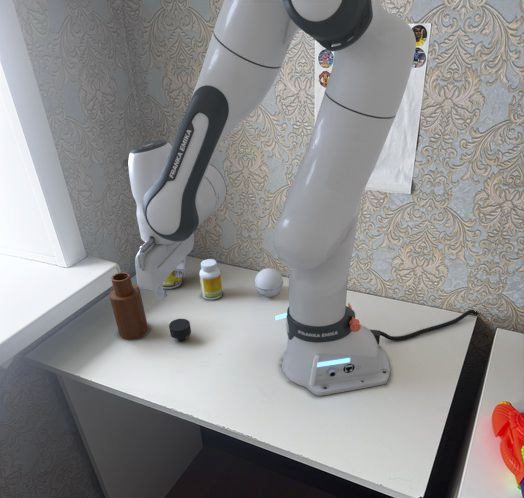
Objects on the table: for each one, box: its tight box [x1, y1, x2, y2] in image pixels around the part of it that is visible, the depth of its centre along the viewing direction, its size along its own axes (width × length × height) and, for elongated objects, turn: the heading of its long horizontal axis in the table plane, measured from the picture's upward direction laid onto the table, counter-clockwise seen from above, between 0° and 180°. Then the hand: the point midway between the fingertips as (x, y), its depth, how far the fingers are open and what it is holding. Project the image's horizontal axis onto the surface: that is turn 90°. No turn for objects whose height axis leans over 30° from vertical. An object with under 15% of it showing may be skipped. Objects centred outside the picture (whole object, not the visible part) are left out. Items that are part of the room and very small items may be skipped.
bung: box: [168, 318, 192, 343], centre depth 116 cm, size 5×5×4 cm
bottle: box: [108, 271, 149, 341], centre depth 116 cm, size 7×7×15 cm
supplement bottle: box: [198, 258, 223, 301], centre depth 129 cm, size 5×5×10 cm
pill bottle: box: [162, 268, 183, 290], centre depth 134 cm, size 6×6×12 cm
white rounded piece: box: [254, 267, 289, 298], centre depth 128 cm, size 10×7×7 cm
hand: (171, 287), depth 108 cm, fingers open, 8 cm apart
